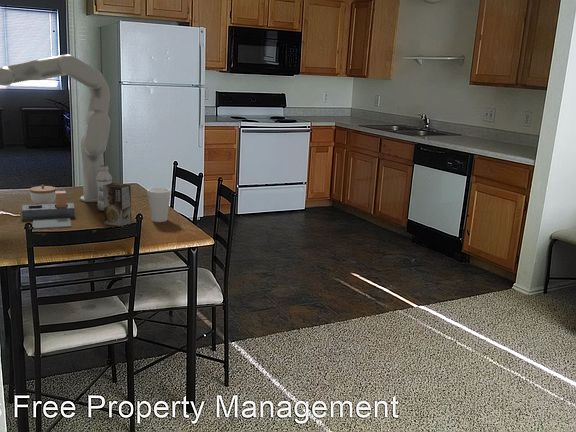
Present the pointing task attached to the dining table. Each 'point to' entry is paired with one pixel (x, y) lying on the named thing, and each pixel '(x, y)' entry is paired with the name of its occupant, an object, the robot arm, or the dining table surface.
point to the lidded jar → (43, 194)
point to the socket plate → (47, 211)
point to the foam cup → (158, 203)
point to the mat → (51, 223)
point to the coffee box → (117, 204)
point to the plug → (60, 199)
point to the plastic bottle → (102, 184)
